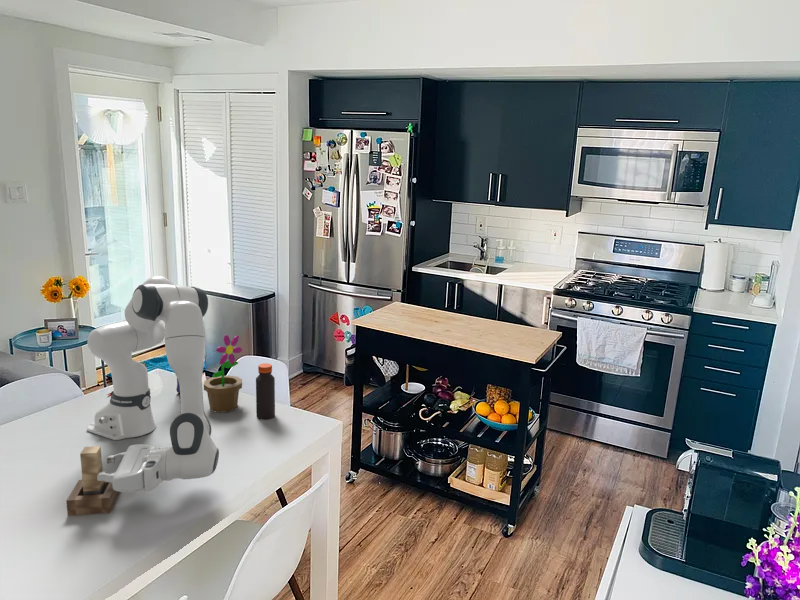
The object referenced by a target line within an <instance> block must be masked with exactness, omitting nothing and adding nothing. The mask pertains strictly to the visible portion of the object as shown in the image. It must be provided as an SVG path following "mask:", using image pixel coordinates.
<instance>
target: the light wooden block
mask: <svg viewBox="0 0 800 600" xmlns="http://www.w3.org/2000/svg"><path fill="white" fill-rule="evenodd" d="M101 447H102V446H101V445H97V446H96V445H95V446H92V445H91V446H84V447H83V449H82V450H81V452H80V453H79V455H80V467H81V468H80V469H81V480H83V495H84V496H85V495H100V494H104V492H105V491H104V481H98V480H97V475H98V474H99V472H104V471H103V470H104V469H103V457H102V448H101Z"/></svg>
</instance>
